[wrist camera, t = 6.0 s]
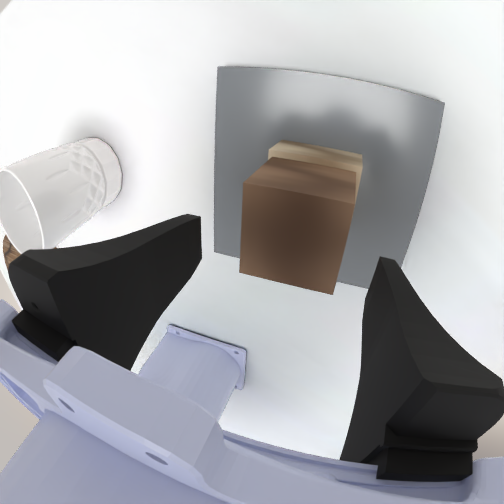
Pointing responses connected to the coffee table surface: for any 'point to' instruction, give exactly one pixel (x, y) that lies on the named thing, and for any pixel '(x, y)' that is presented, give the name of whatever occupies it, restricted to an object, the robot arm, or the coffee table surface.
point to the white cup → (56, 192)
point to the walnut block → (296, 223)
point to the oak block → (319, 157)
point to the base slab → (332, 136)
